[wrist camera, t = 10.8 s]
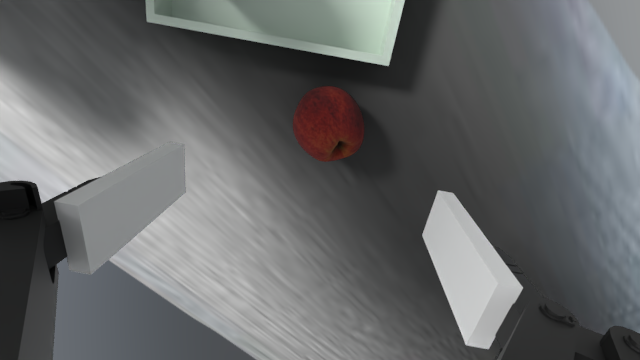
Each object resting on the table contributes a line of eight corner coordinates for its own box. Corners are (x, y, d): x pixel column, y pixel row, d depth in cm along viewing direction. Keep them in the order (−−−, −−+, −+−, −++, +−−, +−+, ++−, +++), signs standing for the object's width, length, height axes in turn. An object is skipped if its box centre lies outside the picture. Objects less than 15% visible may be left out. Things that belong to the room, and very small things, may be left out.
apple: (311, 156, 37) (303, 182, 30) (287, 96, 35) (272, 108, 27) (369, 137, 36) (375, 160, 29) (348, 72, 33) (349, 79, 26)
